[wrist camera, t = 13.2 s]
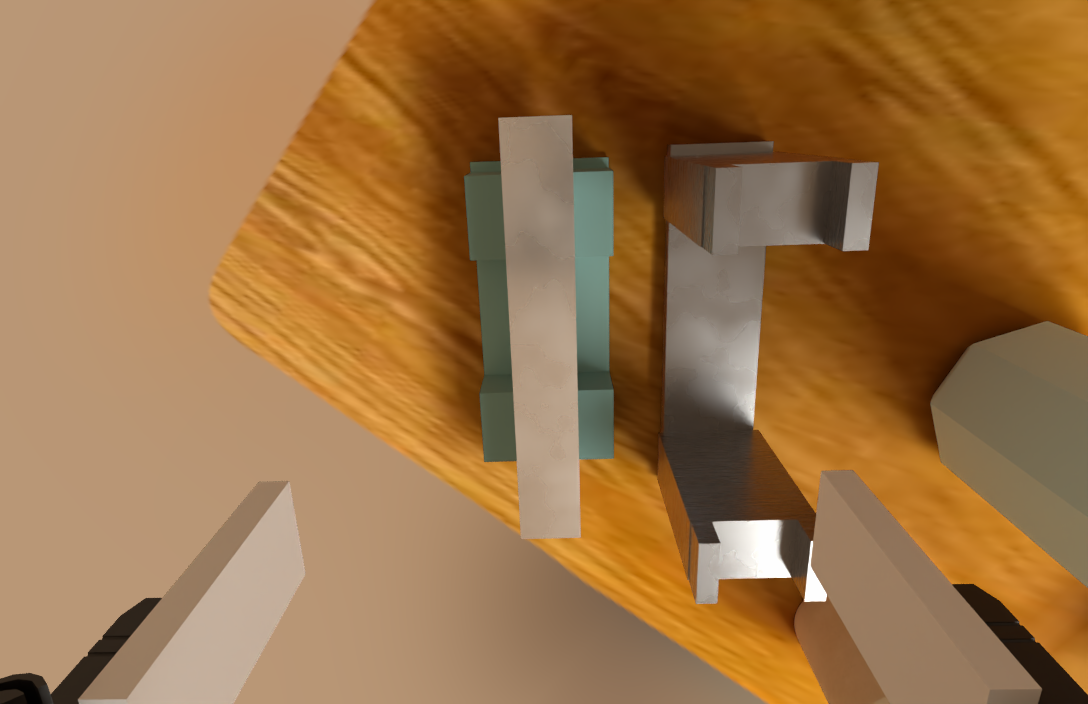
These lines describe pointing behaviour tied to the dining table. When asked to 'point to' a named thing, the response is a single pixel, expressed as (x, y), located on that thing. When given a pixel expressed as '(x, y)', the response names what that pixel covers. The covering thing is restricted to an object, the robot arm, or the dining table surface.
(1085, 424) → the water bottle
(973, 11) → the dining table surface
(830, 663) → the candle
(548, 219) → the rail
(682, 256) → the stand
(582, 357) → the rest
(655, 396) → the dining table surface
